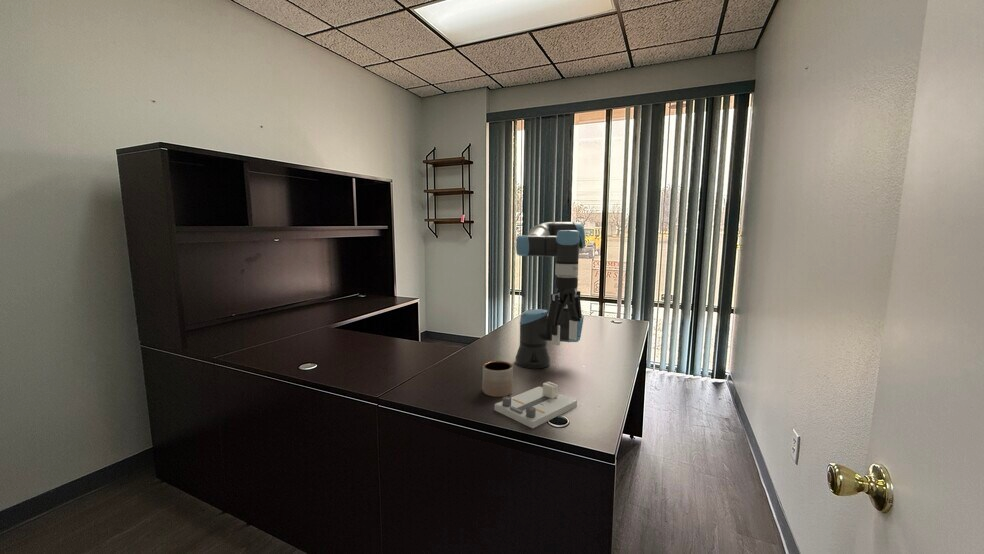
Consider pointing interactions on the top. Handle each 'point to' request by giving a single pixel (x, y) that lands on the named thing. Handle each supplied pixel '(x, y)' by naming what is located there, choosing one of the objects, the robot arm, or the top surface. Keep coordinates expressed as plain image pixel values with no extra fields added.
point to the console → (534, 407)
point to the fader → (550, 390)
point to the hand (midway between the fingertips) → (564, 341)
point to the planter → (497, 378)
